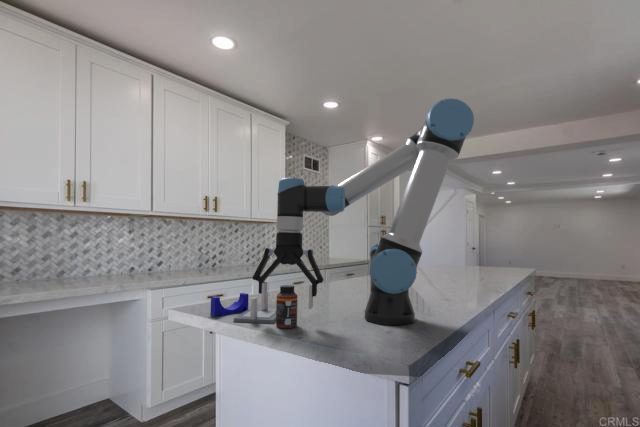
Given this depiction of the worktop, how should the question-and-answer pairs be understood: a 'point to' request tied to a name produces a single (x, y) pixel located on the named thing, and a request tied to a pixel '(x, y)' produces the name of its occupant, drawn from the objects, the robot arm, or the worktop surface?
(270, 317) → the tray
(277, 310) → the supplement bottle
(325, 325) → the worktop surface
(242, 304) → the cable clip
